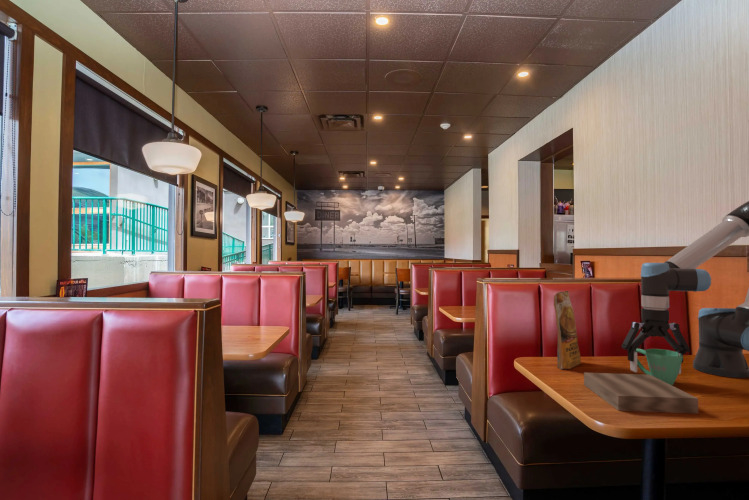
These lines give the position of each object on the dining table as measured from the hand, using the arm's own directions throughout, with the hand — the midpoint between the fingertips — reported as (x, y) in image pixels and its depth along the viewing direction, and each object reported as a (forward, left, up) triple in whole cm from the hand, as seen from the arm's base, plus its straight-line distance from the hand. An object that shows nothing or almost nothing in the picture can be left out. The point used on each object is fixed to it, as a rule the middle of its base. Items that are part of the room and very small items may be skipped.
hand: (655, 371), depth 125 cm
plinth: (+16, +17, -3) cm, 23 cm away
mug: (0, 0, -3) cm, 3 cm away
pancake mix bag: (+22, -16, -3) cm, 27 cm away
